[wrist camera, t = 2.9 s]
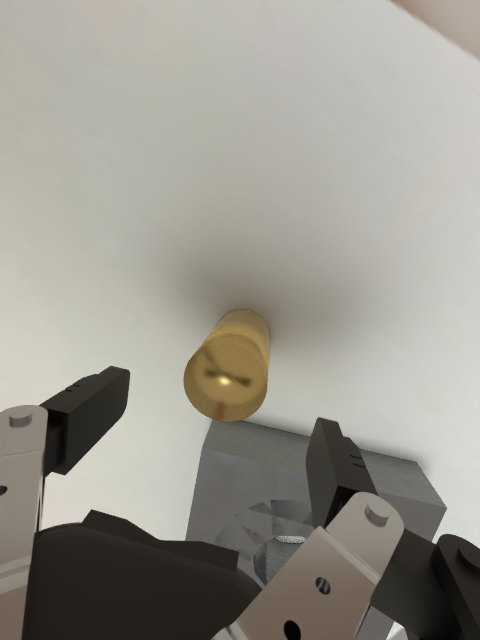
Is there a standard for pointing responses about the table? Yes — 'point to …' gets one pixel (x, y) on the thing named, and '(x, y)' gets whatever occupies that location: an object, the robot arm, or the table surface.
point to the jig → (288, 500)
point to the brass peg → (230, 368)
